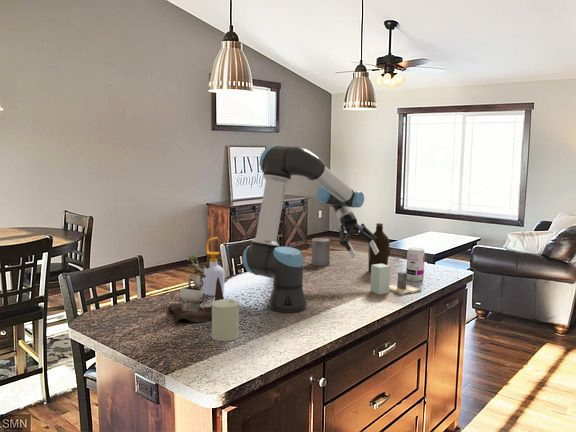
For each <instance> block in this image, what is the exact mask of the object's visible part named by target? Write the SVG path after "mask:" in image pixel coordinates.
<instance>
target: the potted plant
mask: <svg viewBox="0 0 576 432" xmlns="http://www.w3.org/2000/svg"><path fill="white" fill-rule="evenodd" d="M187 256H188V259H187V261H191V263H189V264H187V267H190V269H193V270H192V273H190V274H189V275H188V281H187V285H188V286H186V287H182V288H181V290H180V293H179V296H178V299H179V300H180V301H181V303H177V304H172V305H169V306H168V307H167V309H168V312H171V313H173V315H172V316H173V320H174V324H177V323H178V321H179V320H180V321H181V320H187V321H190V322H193V323H204V324H205V323H208V322H209V321H212V305H211V306H203V307H202V306H201V304H202V303H203V297H204V294H203V289H202V288H203V285H204V282H203V278H205V277H206V276H205V275H204V271H205V267H206V268H207V269H208V268H209V267H210V266H209V265H210V263H204V261H200V263H199V260H198V259H199V258H198V257H197V256H196V255H195V256H194V255H191V254H188V255H187ZM200 266H203V268H201V267H200ZM193 267H194V268H193ZM210 268H211V267H210ZM196 274H198V275H196ZM192 282H193V284H194V286H192V285H191V284H192ZM222 299H225V298H224V293H223V292H222V288H221V284H220V281H219V278H217V281H216V291H215V296H214V301H216V300H222Z"/></svg>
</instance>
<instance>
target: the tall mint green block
mask: <svg viewBox="0 0 576 432" xmlns="http://www.w3.org/2000/svg"><path fill="white" fill-rule="evenodd" d="M390 279H391V265H385V264H374V265H371V273H370V288H369V290H370V292H371V293H374V294H376V295H383V294H389V293H390V291H389V285H390V281H391V280H390Z"/></svg>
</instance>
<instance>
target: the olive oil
mask: <svg viewBox="0 0 576 432" xmlns="http://www.w3.org/2000/svg"><path fill="white" fill-rule="evenodd" d="M383 225H384V224H383V223H380V222H379V223H376V226H375V231H374V232H372V233H373V234H374V235H375V236H376V237H377V239H376V240H375V243H376V245H377V248H378V250H379V252H378V253H377V255H375V254H374V252H373V250H372V248H371V246H370V244H369V243H370V242H369V241H368V243H367V248H368V253H367V254H368V258H367V259H368V271H367V272H369V273H370V274H371V265H374V264H385V265H388V264H389V261H388V260H389V252H390V251H389V250H390V238H389V237H388V236H387V235H386V233H385V232H384V226H383ZM370 240H371V239H370ZM388 266H389V265H388Z"/></svg>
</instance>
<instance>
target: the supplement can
mask: <svg viewBox="0 0 576 432" xmlns="http://www.w3.org/2000/svg"><path fill="white" fill-rule="evenodd" d="M425 256H426V252H425V251H424V248H421V247H409V248H408V250H407V252H406V270H405V271H406V272H405V273H407V280H408V281H411V282H412V281H413V282H421V280H422V281H423V280H424V276H425V275H424V274H425V258H426V257H425Z"/></svg>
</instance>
